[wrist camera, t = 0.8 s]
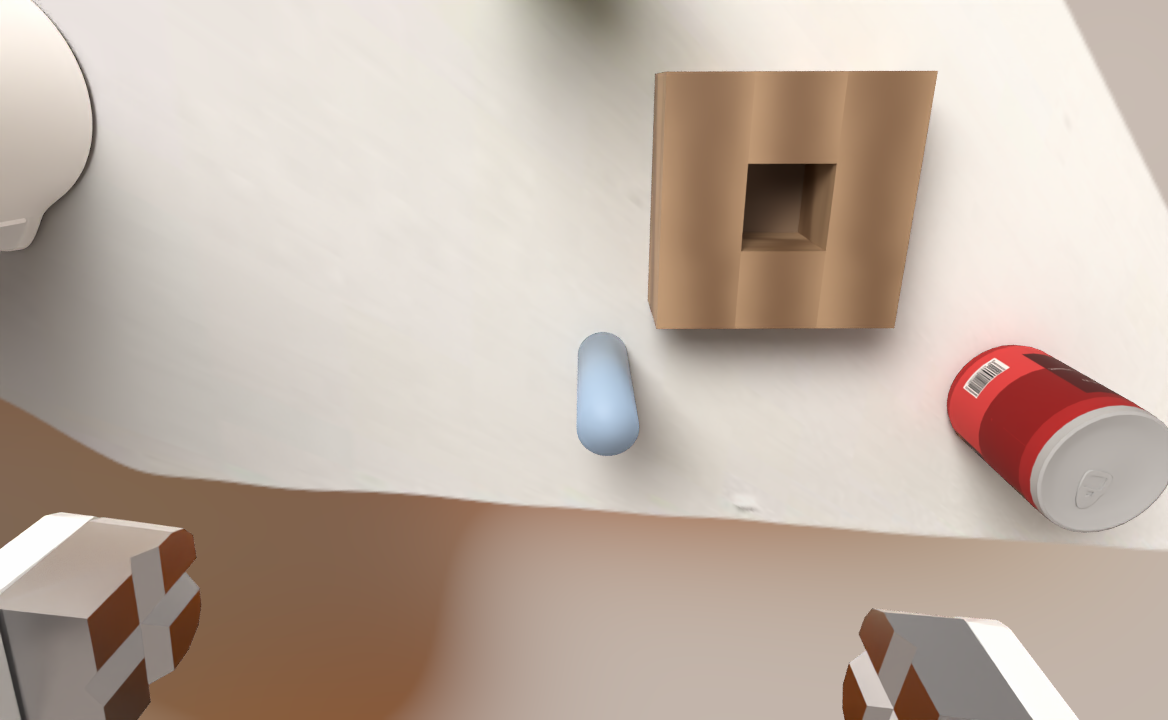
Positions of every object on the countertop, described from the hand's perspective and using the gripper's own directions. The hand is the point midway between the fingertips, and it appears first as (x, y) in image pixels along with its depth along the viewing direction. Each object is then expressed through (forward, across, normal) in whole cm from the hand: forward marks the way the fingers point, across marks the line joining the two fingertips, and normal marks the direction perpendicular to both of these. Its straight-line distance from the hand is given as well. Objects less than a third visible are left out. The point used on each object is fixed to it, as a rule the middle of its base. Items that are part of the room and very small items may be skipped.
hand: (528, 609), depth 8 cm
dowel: (+38, -2, +11) cm, 40 cm away
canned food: (+39, -30, +11) cm, 51 cm away
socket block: (+38, -11, -1) cm, 40 cm away
